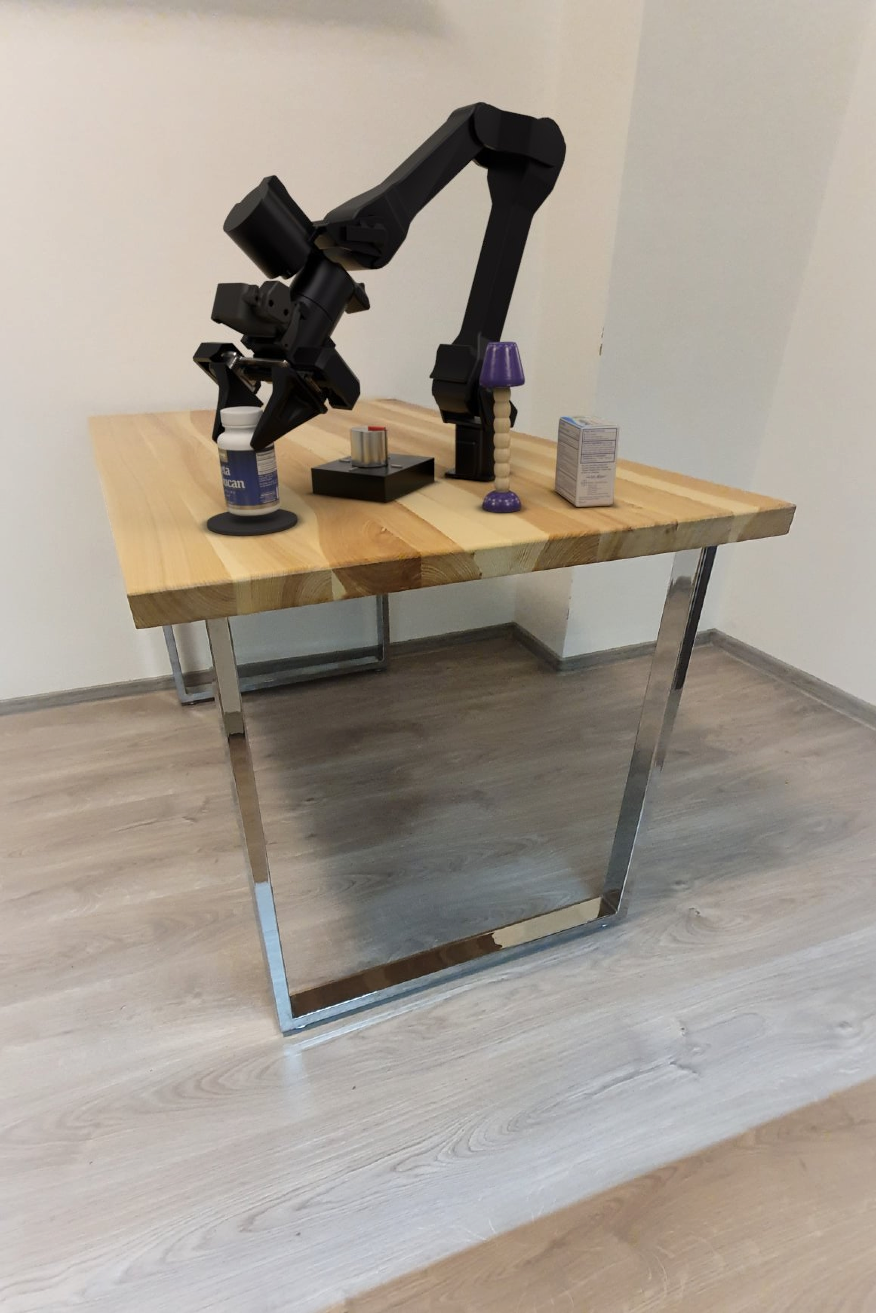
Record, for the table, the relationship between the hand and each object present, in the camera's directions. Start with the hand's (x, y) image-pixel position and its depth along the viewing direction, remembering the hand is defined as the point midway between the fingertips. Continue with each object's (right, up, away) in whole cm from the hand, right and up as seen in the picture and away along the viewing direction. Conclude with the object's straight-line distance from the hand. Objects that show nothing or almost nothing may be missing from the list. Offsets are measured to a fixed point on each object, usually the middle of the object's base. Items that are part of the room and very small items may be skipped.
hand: (234, 445), depth 70 cm
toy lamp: (+26, -4, +10) cm, 28 cm away
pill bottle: (+1, -6, +4) cm, 7 cm away
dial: (+12, +3, +16) cm, 20 cm away
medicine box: (+36, -2, +13) cm, 39 cm away
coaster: (+1, -7, +4) cm, 8 cm away
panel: (+12, 0, +18) cm, 22 cm away
